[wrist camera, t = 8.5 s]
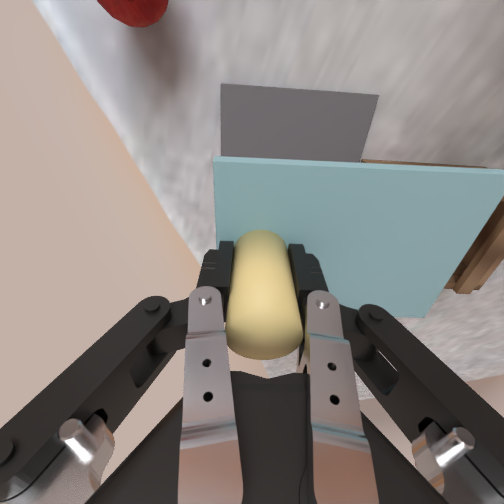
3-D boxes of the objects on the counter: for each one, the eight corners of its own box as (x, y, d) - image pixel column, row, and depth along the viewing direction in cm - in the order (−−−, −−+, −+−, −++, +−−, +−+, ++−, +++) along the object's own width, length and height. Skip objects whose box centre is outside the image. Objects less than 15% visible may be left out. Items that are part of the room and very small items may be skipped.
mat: (221, 83, 26) (220, 83, 26) (376, 94, 27) (378, 95, 26) (222, 202, 34) (221, 204, 33) (343, 209, 34) (344, 211, 34)
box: (361, 159, 31) (398, 190, 23) (484, 167, 31) (560, 199, 24) (336, 243, 38) (358, 289, 30) (437, 248, 38) (483, 294, 31)
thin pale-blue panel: (215, 155, 12) (187, 223, 7) (503, 169, 12) (677, 242, 7) (220, 302, 18) (207, 397, 13) (417, 308, 18) (482, 404, 13)
